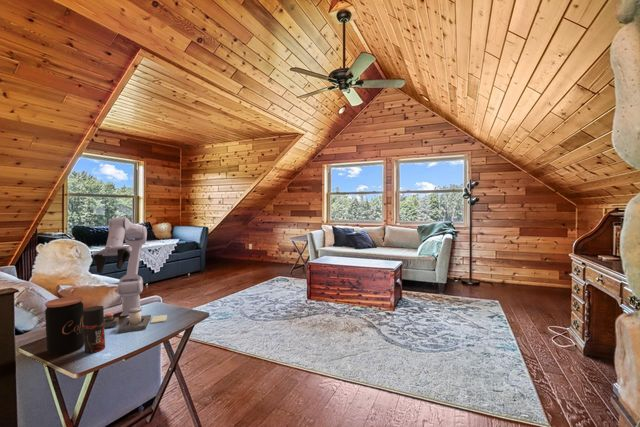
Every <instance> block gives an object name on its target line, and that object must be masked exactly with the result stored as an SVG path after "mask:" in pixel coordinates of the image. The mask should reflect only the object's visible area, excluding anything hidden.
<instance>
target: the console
mask: <svg viewBox="0 0 640 427" xmlns="http://www.w3.org/2000/svg"><path fill="white" fill-rule="evenodd" d="M119 324H120V316H118V317H113V321H108V322H105V318H104V329H109V328H116V327H117V326H118V325H119Z"/></svg>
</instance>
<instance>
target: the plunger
mask: <svg viewBox="0 0 640 427" xmlns="http://www.w3.org/2000/svg"><path fill="white" fill-rule="evenodd" d="M114 315H115V314H114V313H113V312H110V313H106V314H105V313H104V319H105V322H108V321H113V318H114Z"/></svg>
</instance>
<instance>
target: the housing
mask: <svg viewBox="0 0 640 427" xmlns="http://www.w3.org/2000/svg"><path fill="white" fill-rule="evenodd" d="M150 318H151V319H152V315H151V314H148V315H147V314H145V315H141V323H138V324H131V325H129V317H125V318H124V320H123V321H122V322H121V324H120V326H119V327H118V328H117V333H118V334H122V333H128V332H134V331H141V330H146V329H147V327H148V325H149V323H150V322H151V319H150Z"/></svg>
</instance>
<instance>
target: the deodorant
mask: <svg viewBox="0 0 640 427" xmlns="http://www.w3.org/2000/svg"><path fill="white" fill-rule="evenodd" d="M83 309H84V310H83V322H84V345H83V346H84V353H85V354H95V353H99V352H102V351H104V349H106V338H105V336H106V335H105V328H104V319H105V310H104V306H103V305H95V306H89V307H87V308H83Z"/></svg>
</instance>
